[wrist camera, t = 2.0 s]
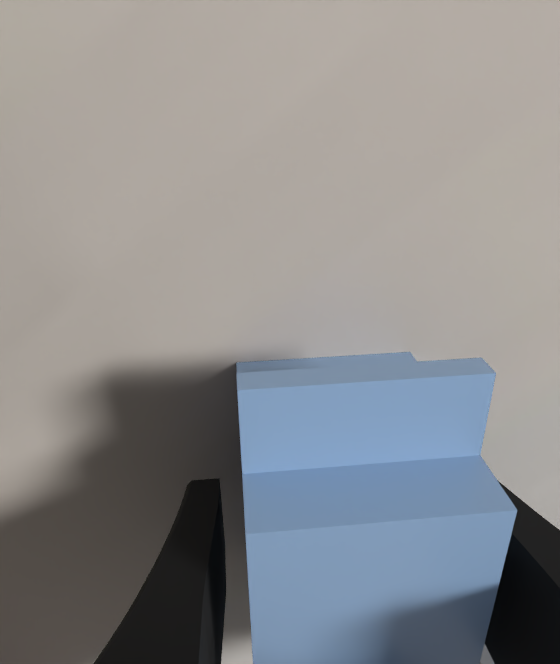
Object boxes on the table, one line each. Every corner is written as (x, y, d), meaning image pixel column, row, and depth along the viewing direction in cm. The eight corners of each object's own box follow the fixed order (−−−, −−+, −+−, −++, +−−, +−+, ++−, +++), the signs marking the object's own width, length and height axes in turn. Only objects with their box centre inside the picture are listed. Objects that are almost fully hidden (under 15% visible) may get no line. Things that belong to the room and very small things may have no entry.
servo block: (416, 285, 12) (575, 459, 6) (384, 576, 16) (466, 828, 10) (232, 295, 11) (243, 487, 6) (249, 590, 15) (264, 856, 10)
